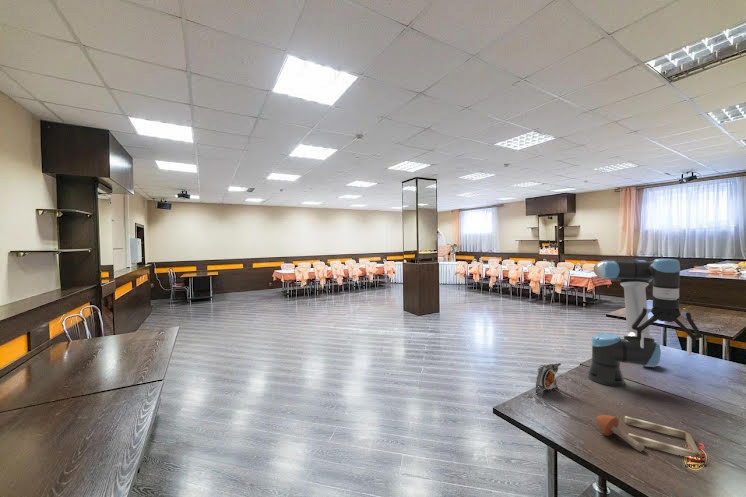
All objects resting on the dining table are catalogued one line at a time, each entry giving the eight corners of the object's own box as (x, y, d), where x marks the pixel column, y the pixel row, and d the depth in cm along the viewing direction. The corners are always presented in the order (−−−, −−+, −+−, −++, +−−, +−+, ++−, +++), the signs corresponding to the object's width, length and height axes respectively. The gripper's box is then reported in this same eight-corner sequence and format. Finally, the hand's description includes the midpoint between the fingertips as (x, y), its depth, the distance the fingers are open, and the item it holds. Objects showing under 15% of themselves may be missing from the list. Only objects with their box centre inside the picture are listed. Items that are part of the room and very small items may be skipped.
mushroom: (646, 435, 101) (598, 404, 115) (633, 455, 101) (587, 422, 114) (652, 442, 105) (605, 411, 118) (640, 461, 104) (594, 428, 118)
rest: (628, 443, 109) (628, 434, 108) (624, 423, 120) (624, 415, 120) (700, 464, 98) (701, 454, 98) (689, 440, 110) (689, 432, 110)
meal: (544, 398, 140) (544, 370, 140) (535, 394, 144) (535, 367, 143) (561, 389, 148) (561, 363, 148) (552, 386, 152) (552, 360, 151)
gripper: (625, 296, 124) (624, 347, 125) (715, 303, 109) (713, 361, 110) (624, 293, 130) (623, 341, 131) (709, 299, 115) (707, 354, 116)
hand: (664, 350), depth 120 cm, fingers open, 13 cm apart
